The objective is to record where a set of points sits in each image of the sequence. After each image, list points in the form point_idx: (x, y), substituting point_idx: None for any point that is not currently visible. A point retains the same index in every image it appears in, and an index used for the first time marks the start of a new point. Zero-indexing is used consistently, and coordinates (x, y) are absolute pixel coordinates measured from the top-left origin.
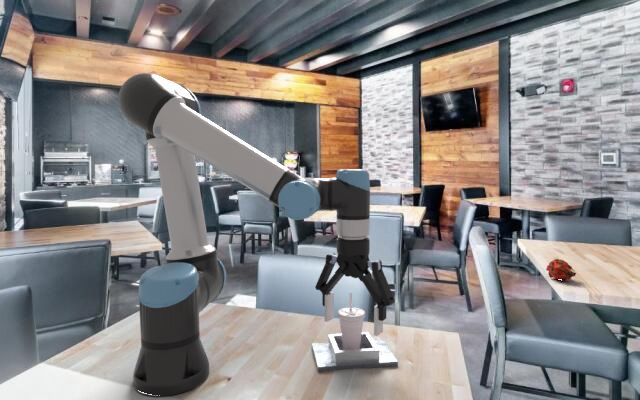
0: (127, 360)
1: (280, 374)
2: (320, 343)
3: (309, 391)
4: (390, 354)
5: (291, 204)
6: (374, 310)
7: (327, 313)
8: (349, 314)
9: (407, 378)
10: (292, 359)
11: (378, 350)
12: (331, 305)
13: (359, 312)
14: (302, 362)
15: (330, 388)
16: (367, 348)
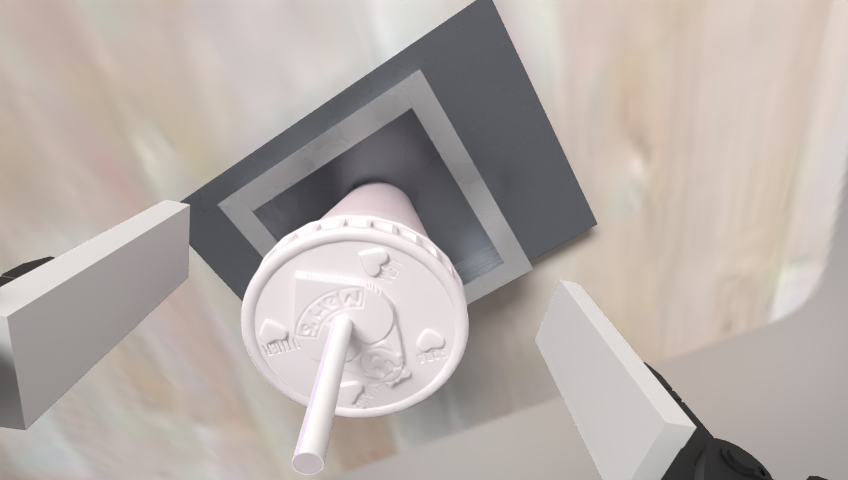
0: None
1: (214, 422)
2: (198, 195)
3: (352, 457)
4: (558, 171)
5: None
6: (601, 471)
7: (154, 306)
8: (363, 378)
9: (629, 289)
10: (176, 330)
11: (528, 270)
12: (118, 281)
13: (420, 313)
14: (226, 334)
15: (401, 426)
16: (438, 154)
